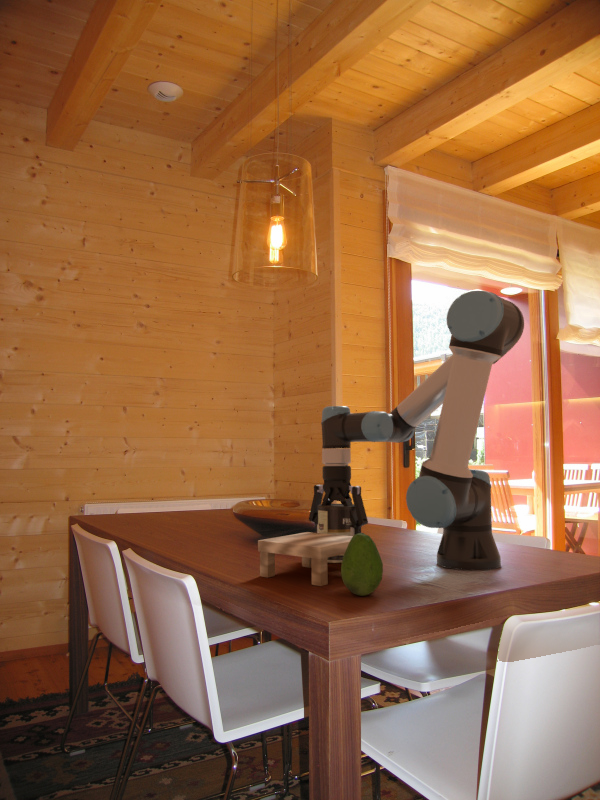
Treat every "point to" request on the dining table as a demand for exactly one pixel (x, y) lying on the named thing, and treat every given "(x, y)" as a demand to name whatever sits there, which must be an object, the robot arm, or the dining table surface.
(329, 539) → the footstool
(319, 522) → the coffee can
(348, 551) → the fruit
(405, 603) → the dining table surface
